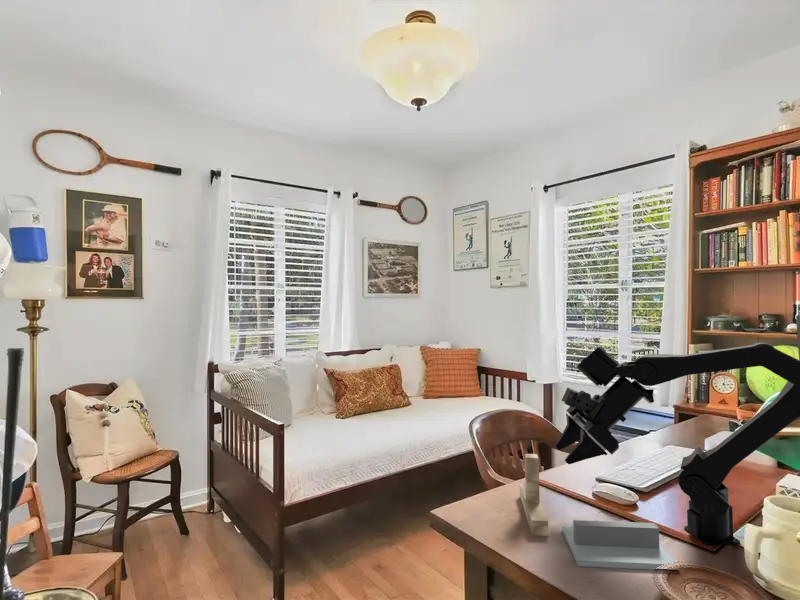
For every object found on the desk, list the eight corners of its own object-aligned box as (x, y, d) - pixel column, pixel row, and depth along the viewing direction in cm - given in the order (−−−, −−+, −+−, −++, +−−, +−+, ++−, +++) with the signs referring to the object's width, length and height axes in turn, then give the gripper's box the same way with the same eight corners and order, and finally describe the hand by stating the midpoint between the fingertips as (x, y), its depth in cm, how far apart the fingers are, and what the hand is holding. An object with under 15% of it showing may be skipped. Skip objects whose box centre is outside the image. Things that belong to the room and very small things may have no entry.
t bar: (533, 497, 105) (532, 443, 105) (548, 536, 87) (546, 471, 88) (520, 497, 106) (518, 442, 106) (532, 536, 88) (530, 470, 88)
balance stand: (649, 534, 87) (648, 510, 87) (679, 570, 75) (678, 543, 75) (562, 531, 89) (561, 508, 89) (578, 566, 77) (577, 539, 77)
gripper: (574, 369, 105) (526, 416, 106) (599, 382, 86) (540, 440, 88) (612, 403, 104) (562, 451, 105) (644, 425, 85) (584, 482, 86)
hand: (561, 455), depth 96 cm, fingers open, 9 cm apart
